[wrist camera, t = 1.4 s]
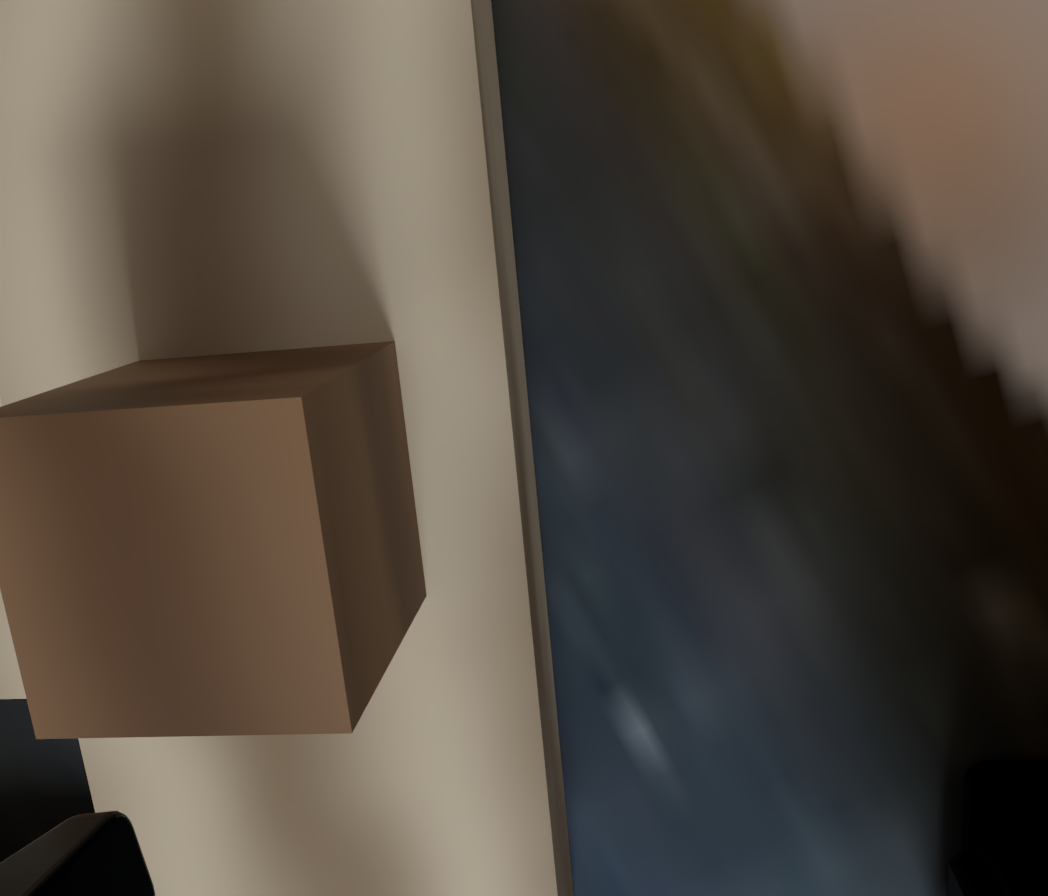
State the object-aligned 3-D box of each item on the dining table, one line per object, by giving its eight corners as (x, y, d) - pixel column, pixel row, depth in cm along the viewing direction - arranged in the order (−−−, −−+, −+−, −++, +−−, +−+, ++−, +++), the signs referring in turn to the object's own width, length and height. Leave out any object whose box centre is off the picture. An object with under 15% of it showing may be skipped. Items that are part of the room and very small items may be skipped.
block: (395, 341, 18) (301, 397, 13) (426, 595, 19) (352, 733, 14) (138, 360, 18) (-41, 420, 14) (185, 604, 20) (36, 738, 15)
